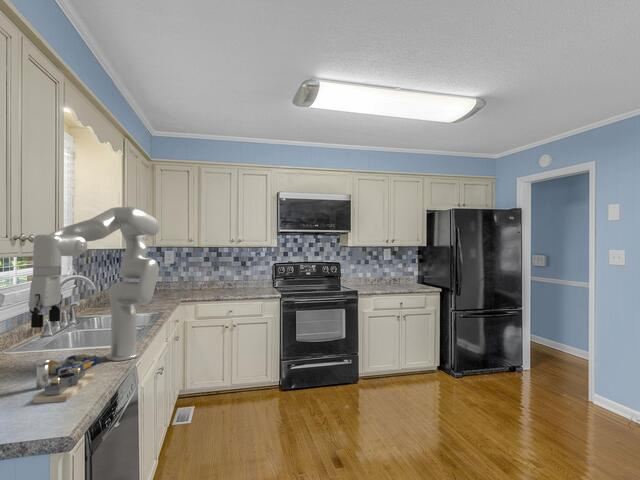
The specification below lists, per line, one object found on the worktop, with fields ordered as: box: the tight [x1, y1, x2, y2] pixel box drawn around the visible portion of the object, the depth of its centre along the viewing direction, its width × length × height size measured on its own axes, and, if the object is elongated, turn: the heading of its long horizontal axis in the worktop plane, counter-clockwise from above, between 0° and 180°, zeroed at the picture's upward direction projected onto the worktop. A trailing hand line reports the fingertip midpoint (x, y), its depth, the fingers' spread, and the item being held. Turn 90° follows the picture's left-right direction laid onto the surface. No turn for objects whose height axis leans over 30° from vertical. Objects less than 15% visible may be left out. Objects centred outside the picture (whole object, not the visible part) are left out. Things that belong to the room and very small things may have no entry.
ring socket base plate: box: [33, 367, 95, 404], centre depth 122 cm, size 20×9×6 cm, turn 11°
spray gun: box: [49, 353, 101, 375], centre depth 142 cm, size 21×4×15 cm
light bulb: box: [34, 357, 52, 390], centre depth 123 cm, size 4×4×9 cm
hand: (46, 324), depth 122 cm, fingers open, 9 cm apart
